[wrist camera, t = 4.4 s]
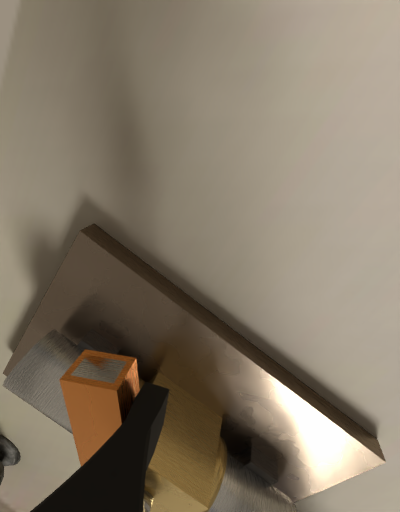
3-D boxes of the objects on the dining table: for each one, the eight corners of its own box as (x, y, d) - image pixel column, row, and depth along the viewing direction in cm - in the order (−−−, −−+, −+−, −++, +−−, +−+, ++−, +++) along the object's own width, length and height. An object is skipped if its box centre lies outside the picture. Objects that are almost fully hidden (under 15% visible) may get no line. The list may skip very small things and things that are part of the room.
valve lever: (160, 537, 15) (150, 576, 14) (113, 523, 16) (99, 560, 14) (144, 359, 10) (127, 392, 9) (76, 348, 11) (50, 377, 9)
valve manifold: (377, 439, 19) (439, 605, 12) (231, 510, 26) (219, 642, 19) (94, 223, 17) (-16, 278, 11) (17, 360, 24) (-80, 447, 17)
